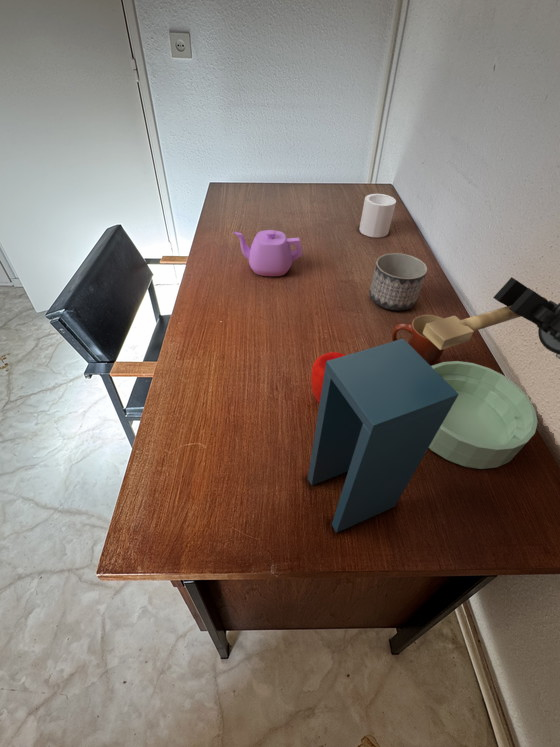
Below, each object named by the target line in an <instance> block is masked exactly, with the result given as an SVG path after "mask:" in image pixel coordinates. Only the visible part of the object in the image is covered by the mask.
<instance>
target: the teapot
mask: <svg viewBox="0 0 560 747" xmlns="http://www.w3.org/2000/svg"><path fill="white" fill-rule="evenodd" d="M232 233H233V234H235V235H236V236H237V238H238V239H239V240H238V241H239V244H240V250H241V254H242V256H243V257H244V258H245V259H247V260H248V264H249V267H250V269H251V270H252V271H253V272H254V273H255V274H256V275H259V276H262V277H280V276H284V275H286V273H288V272H289V270H290V268H291V267H292V265H293V262H295V261H296V260H298V259H299V258H300V257H302V256H303V255H304V254H303V249H302V244H301V239H300V237H290V238H287V236H286V233H285V232H283V231H280V230H274V229H266V230H260V231H258V232H257V233H256V234H255V236H254V239H253V241H252V242H251V244H250V245H251V246H248V244H247V242H246V238H245V236H244V234H243V233H241V232H239V231H235V230H234V231H232ZM293 245H295V250H294V251H293V250H292V247H291V246H293Z"/></svg>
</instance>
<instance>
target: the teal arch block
mask: <svg viewBox="0 0 560 747" xmlns="http://www.w3.org/2000/svg"><path fill="white" fill-rule="evenodd" d="M345 355H346V356H342V357H339V358H336V359H332V360H329V361H326V366H325V373H324V379H323V385H322V392H321V398H320V403H318V411H317V417H316V422H315V423H316V424H315V431H314V436H313V441H312V443H313V444H312V448H311V455H310V462H309V469H308V475H307V480H308V482H309V484H310V485H311V486H315V485H317V484H320V483H322V482H324V481H328V480H330V479H331V478H334V477H337V476H339V475H342V474H344V473H347V474H346V477H345V480H344V483H343V487H342V490H341V493H340V496H339V498H338V503H337V506H336V509H335V513H334V516H333V519H332V521H331V522H332V523H331V526H332V527H333V528H332V529H334V532H335V533H340V532H342V531H344V530H346V529H349V528H351V527H353V526H355V525H357V524H359V523H362V522H364V521H366V520H369V519H371V518H372V517H376V516H377V515H380V514H381V513H384V512H386V511H389V510H391V509H392V508H395V507H396V505H397V504H398V502H399V500H400V498H401V497H402V495H403V493H404V492H405V490H406V488H407V486H408V484H409V483H410V481H411V479H412V478H413V475H414V474H415V472H416V471H417V469H418V467H419V465H420V464H421V462H422V460H423V458H424V456H425V454H426V453H427V451H428V449H430V448H429V446H430V444H431V442H432V441H433V439H434V437H435V435H436V434H437V432H438V430H439V428H440V427H441V425H442V423H443V421H444V419H445V418H446V416H447V414H448V412H449V411H450V409H451V407H452V405H453V404H454V402H455V400H456V399H457V397H458V395H459V394H458V393H457V392H456V391H455V390H454V389H453V388H452V387H451V386H450V385H449V384H448V383H447V382H446V381H445V380H444V379H443V378H442V377H441V376H440V375H439V374H438V373H437V372H436V371H435V370H434V369H433V368H432V367H431V366H430V365H429V364H428V363H427V362H426V361H425V360H424V359H423V358H422V357H421V356H420V355H419V354H418V353H417V352H416V351H415V350H414V349H413V348H412V347H411V346H410V345H409V344H408V341H406V340H405V338H401V339H397V341H393V340H392V341H390V342H386V343H383V344H380V345H376V346H374V347H370V348H367V349H363V350H360V351H356V352H353V353H349V354H345Z"/></svg>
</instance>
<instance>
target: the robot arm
mask: <svg viewBox="0 0 560 747" xmlns="http://www.w3.org/2000/svg"><path fill="white" fill-rule="evenodd" d="M543 297H544V296H542V295H540V294H539V293H538V292H536V291H535V290H533V289H531V288H530V287H527V286H526V285H524V284H523V283H522V282H520V281H519V280H517V279H516V278H514V277H512V276H511V277H510V278H509V279H508V280H507V281H506V283H505V284H504V285H503V286H502V287H501V288H500V289H499V290H498V292H497V293H496V294H495V295H494V296H493V297H492V298H493V299H495V300H496V301H497V302H498V303H501V304H502V305H504V306H505V307H507V306H510V305H512V306H511V307H510V308H509V309H510V310H511V311H513V312H514V313H516V314H518V315H520V316H521V318H524V319H526V320H527V321H529V322H531V323H532V324H534V325H536V327H537V328H538V331H537V333H538V339H539V341H540V343H541V344H542V346H543V347H544V348H545V349H546V350H548V351H550V352H551V353H553V354H555V357H556V358H557V359H559V360H560V302H559V303H556V302H554V301H553V300H548V299H547V298H546V297H545V298H546V299H547V300H546V299H545V298H543Z"/></svg>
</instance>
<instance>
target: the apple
mask: <svg viewBox="0 0 560 747" xmlns="http://www.w3.org/2000/svg"><path fill="white" fill-rule="evenodd" d="M346 355H347V354H344V353H342V352H336V351H331V352H325V353H324V354H322V355H320V356H318V357H317V359H316V360H315V361H314V363H313V364H312V367H311V368H312V370H311V374H310V381H311V389H312V393H313V396H314V398H315V400H316V401H317V402H318V403H317V404H320V398H321V392H322V385H323V379H324V373H325V366H326V361H329V360H332V359H336V358H339V357H342V356H346Z"/></svg>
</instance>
